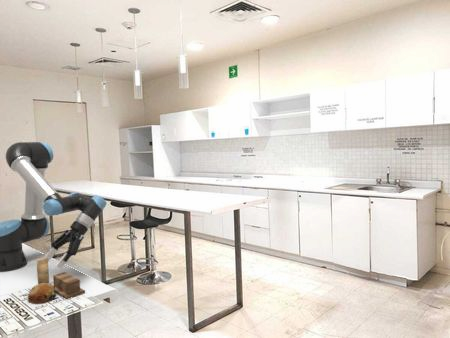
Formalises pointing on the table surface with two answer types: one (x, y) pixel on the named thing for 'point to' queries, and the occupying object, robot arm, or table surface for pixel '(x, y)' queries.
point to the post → (42, 270)
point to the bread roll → (41, 293)
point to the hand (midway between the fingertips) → (51, 264)
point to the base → (67, 285)
